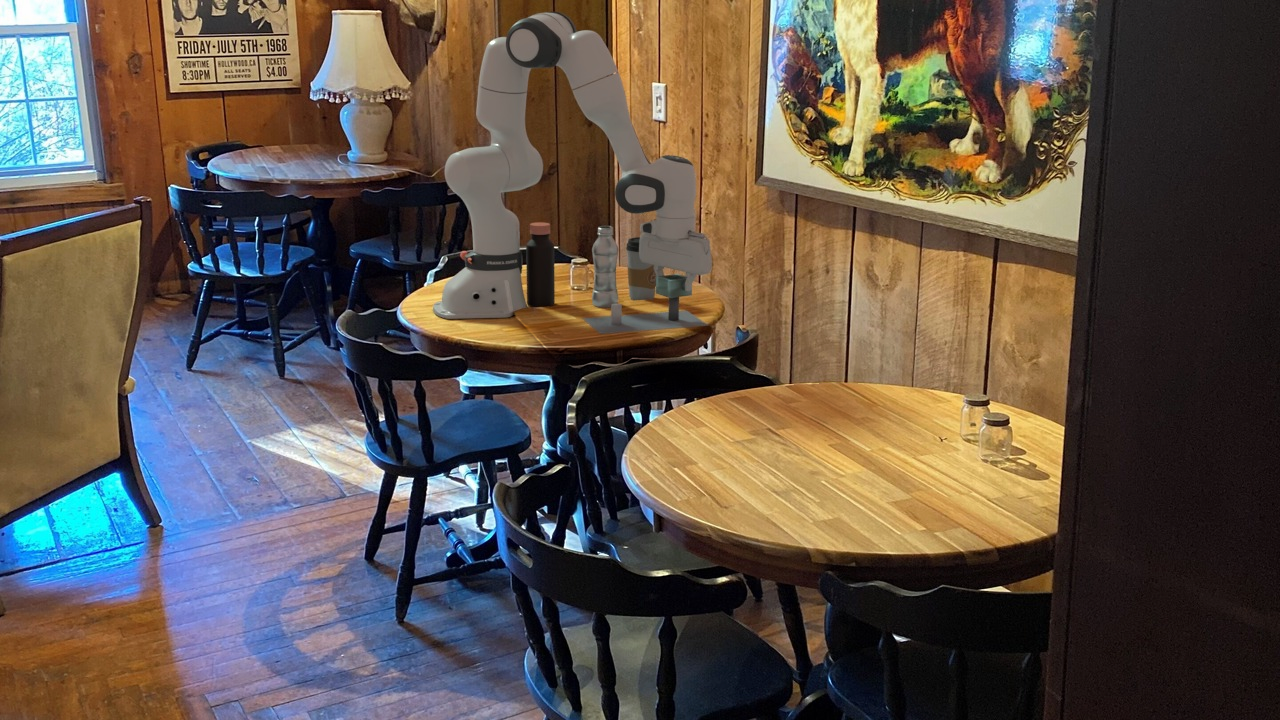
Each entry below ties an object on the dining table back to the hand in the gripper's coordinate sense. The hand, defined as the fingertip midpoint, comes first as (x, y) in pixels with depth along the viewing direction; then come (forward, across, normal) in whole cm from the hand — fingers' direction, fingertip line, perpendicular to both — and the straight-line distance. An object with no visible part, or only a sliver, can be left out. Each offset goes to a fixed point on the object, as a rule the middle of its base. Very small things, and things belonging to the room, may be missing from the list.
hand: (674, 287), depth 272 cm
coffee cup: (+9, +22, -12) cm, 27 cm away
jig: (+9, +3, +6) cm, 11 cm away
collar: (+2, 0, 0) cm, 2 cm away
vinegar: (+9, +34, +12) cm, 37 cm away
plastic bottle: (+9, +21, +2) cm, 23 cm away
